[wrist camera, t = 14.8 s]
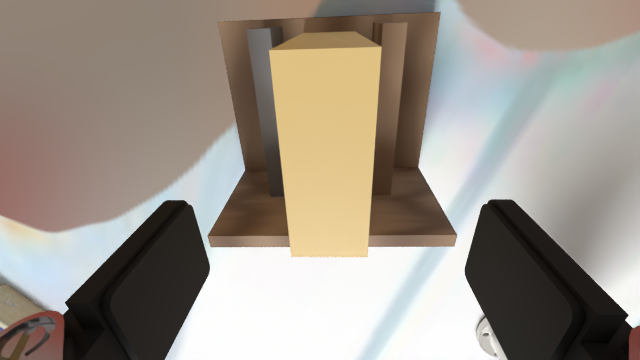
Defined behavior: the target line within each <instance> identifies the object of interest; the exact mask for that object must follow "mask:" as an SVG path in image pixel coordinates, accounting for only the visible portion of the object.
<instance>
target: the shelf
mask: <svg viewBox="0 0 640 360" xmlns="http://www.w3.org/2000/svg"><path fill="white" fill-rule="evenodd" d="M440 13H441V12H429V13H406V14H383V15H361V16H338V17H315V18H295V19H294V18H292V19H271V20H249V21H224V22H218V25H219V31H220V36H221V42H222V47H223V52H224V58H225V63H226V69H227V74H228V79H229V85H230V90H231V95H232V100H233V106H234V111H235V117H236V122H237V127H238V133H239V138H240V144H241V149H242V154H243V160H244V165H245V172H244V173H243V175H242V177H241V179H240V180H239V182H238V184H237V186H236V187H235V189H234V191H233V193H232V194H231V196H230V198H229V200H228V201H227V203H226V205H225V207H224V208H223V210H222V212H221V214H220V215H219V217H218V219H217V221H216V222H215V224H214V226H213V228H212V229H211V231H210V233H209V235H208V239H209V243H210V246H211V247H290V241H289V231H288V222H287V213H286V204H285V194H284V185H283V176H282V166H281V157H280V148H279V139H278V129H277V120H276V111H275V102H274V92H273V83H272V74H271V65H270V55H269V50H271V49H272V48H274V47H276V46H278V45H280V44H282V43H284V42H286V41H288V40H290V39H292V38H294V37H296V36H298V35H300V34H302V33H317V32H347V31H355V32H357V33H359V34H360V35H362V36H364V37H365V38H367V39H369V40H371V41H372V42H374V43H376V44H377V45H379V46H381V47H382V49H381V63H380V78H379V93H378V107H377V122H376V137H375V151H374V166H373V181H372V195H371V210H370V224H369V239H368V247H439V246H455V242H456V238H457V234H456V232H455V230H454V229H453V227H452V225H451V224H450V222H449V220H448V218H447V217H446V215H445V213H444V211H443V210H442V208H441V206H440V204H439V203H438V201H437V199H436V197H435V196H434V194H433V192H432V191H431V189H430V187H429V185H428V184H427V182H426V180H425V178H424V177H423V175H422V173H421V171H420V170H419V168H418V164H419V157H420V150H421V144H422V137H423V130H424V123H425V116H426V109H427V102H428V95H429V89H430V82H431V75H432V68H433V61H434V54H435V47H436V40H437V34H438V27H439V20H440Z"/></svg>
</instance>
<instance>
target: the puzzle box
mask: <svg viewBox="0 0 640 360" xmlns="http://www.w3.org/2000/svg"><path fill="white" fill-rule="evenodd" d="M39 312H45V311H44V310H43V309H41V308H40V307H38V306H37V305H35V304H34V303H32V302H31V301H30V300H28V299H27V298H25V297H24V296H22V295H21V294H19V293H18V292H17V291H15V290H14V289H12V288H11V287H9V286H8V285H6V284H3V285H0V332H1V331H3V330H4V329H6V328H7V327H9V326H10V325H12V324H13V323H15V322H17V321H19V320H21V319H23V318H25V317H27V316H30V315H33V314H36V313H39Z"/></svg>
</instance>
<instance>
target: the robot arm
mask: <svg viewBox="0 0 640 360" xmlns="http://www.w3.org/2000/svg"><path fill="white" fill-rule="evenodd" d="M209 271H210V265H209V261H208V257H207V254H206V251H205V247H204V244H203V241H202V237H201V234H200V230H199V227H198V224H197V220H196V217H195V214H194V210H193V207H192V206H191V205H188V203H187V202H186V201H184V200H167V201H165V202H163V203H162V204H161V205H160V206H159V207H158V209H157V210H156V211H155V212H154V213H153V214H152V215H151V216H150V217H149V218H148V219H147V220H146V221H145V222H144V223H143V224H142V225H141V226H140V227H139V228H138V229H137V230H136V231H135V232H134V233H133V234H132V235H131V236H130V237H129V238H128V239H127V240H126V241H125V242H124V243H123V244H122V245H121V246H120V247H119V248H118V249H117V250H116V251H115V252H114V253H113V254H112V255H111V256H110V257H109V258H108V259H107V260H106V261H105V262H104V263H103V264H102V265H101V266H100V267H99V268H98V269H97V270H96V271H95V273H94V274H93V275H92V276H91V277H90V278H89V279H88V280H87V281H86V282H85V283H84V284H83V285H82V286H81V287H80V288H79V289H78V290H77V291H76V292H75V293H74V294H73V295H72V296H71V297H70V298H69V299H68V300H67V301H66V302H65V304H66V305H67V306H68V308H69V309H68V310H67V311H66V312H65V314H64V315H62V314H61V313H59V312H57V311H45V312H39V313H36V314H33V315H30V316H27V317H25V318H23V319H21V320H19V321H17V322H15V323H13V324H12V325H10V326H9V327H7V328H6V329H4V330H3V331H1V332H0V360H165V358H166V356H167V354H168V352H169V350H170V348H171V346H172V344H173V342H174V340H175V338H176V337H177V335H178V333H179V331H180V329H181V327H182V325H183V323H184V321H185V319H186V317H187V315H188V313H189V311H190V310H191V308H192V306H193V304H194V302H195V300H196V298H197V296H198V294H199V292H200V290H201V288H202V286H203V284H204V282H205V281H206V279H207V277H208V274H209ZM465 276H466V279H467V281H468V283H469V285H470V287H471V289H472V291H473V293H474V295H475V297H476V299H477V301H478V303H479V305H480V307H481V309H482V311H483V312H484V314H485V316H486V317H485V318H484V319H483V321H482V322H481V323H480V324H479V326H478V329H477V333H476V336H477V340H478V342H479V344H480V346H481V348H482V349H483V350H484V351H485V352H486V353H488V354H489V355H491V356H494V357H497V358H499V360H640V326H637V327H635V328H632V327H631V326H630V325H629V324H628V323H627V322H626V321H625V319H626V318H627V317H628V314H627V313H626V312H625V311H624V310H623V309H622V308H621V307H620V306H619V305H618V304H617V303H616V302H615V301H614V300H613V299H612V298H611V297H610V296H609V295H608V294H607V293H606V292H605V291H604V290H603V289H602V288H601V287H600V286H599V285H598V284H597V283H596V282H595V281H594V280H593V279H592V278H591V277H590V276H589V275H588V274H587V273H586V272H585V271H584V270H583V269H582V268H581V267H580V266H579V265H578V264H577V263H576V262H575V261H574V260H573V259H572V258H571V257H570V256H569V255H568V254H567V253H566V252H565V251H564V250H563V249H562V248H561V247H560V246H559V245H558V244H557V243H556V242H555V241H554V240H553V239H552V238H551V237H550V236H549V235H548V234H547V233H546V232H545V231H544V230H543V229H542V228H541V227H540V226H539V225H538V224H537V223H536V222H535V221H534V220H533V219H532V218H531V217H530V216H529V215H528V214H527V213H526V212H525V211H523V210H522V209H521V208H520V207H519V206H518V205H517V204H516V203H515V202H514V201H513V200H489V202H488V203H487V204H484V205H483V206H482V208H481V211H480V215H479V219H478V222H477V226H476V229H475V233H474V237H473V240H472V244H471V248H470V251H469V255H468V259H467V262H466V266H465Z"/></svg>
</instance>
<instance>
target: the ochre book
mask: <svg viewBox="0 0 640 360" xmlns="http://www.w3.org/2000/svg"><path fill="white" fill-rule="evenodd" d="M381 49H382V47H381V46H379V45H377V44H376V43H374V42H372V41H371V40H369V39H367V38H365V37H364V36H362V35H360V34H359V33H357V32H355V31H347V32H317V33H302V34H300V35H298V36H296V37H294V38H292V39H290V40H288V41H286V42H284V43H282V44H280V45H278V46H276V47H274V48H272V49H271V50H269V55H270V65H271V74H272V83H273V92H274V102H275V111H276V120H277V129H278V139H279V148H280V157H281V166H282V176H283V185H284V194H285V204H286V213H287V222H288V231H289V241H290V250H291V257H367V254H368V239H369V224H370V210H371V195H372V181H373V166H374V151H375V137H376V122H377V107H378V93H379V78H380V63H381Z"/></svg>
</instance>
